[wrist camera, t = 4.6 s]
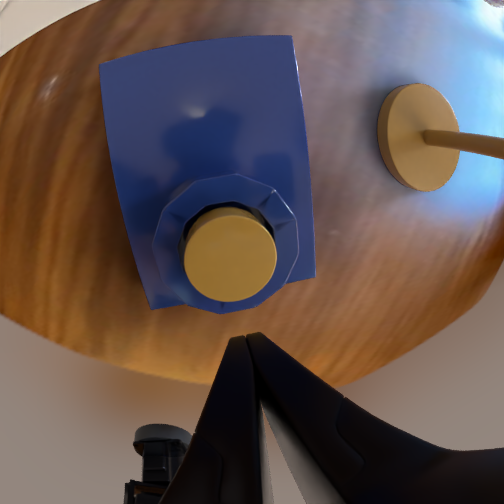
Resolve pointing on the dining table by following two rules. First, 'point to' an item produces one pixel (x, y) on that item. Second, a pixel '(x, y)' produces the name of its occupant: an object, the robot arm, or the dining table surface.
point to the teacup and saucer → (31, 18)
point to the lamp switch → (229, 254)
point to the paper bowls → (495, 3)
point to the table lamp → (425, 137)
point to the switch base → (209, 155)
